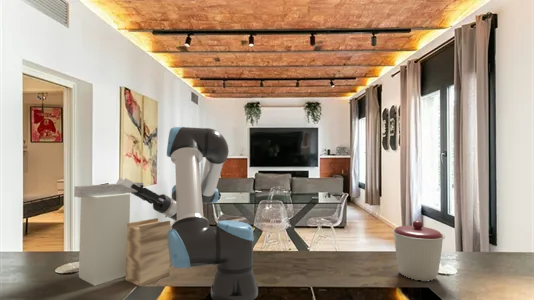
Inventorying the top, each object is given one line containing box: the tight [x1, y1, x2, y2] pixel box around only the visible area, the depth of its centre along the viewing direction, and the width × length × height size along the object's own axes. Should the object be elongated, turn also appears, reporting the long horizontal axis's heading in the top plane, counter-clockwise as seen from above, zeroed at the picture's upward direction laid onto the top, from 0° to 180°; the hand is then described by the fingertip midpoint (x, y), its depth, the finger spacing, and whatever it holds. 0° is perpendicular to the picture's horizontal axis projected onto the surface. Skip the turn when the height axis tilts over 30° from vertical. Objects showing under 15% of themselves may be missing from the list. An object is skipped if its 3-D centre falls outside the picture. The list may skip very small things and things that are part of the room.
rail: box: [73, 181, 144, 198], centre depth 115 cm, size 4×24×4 cm, turn 144°
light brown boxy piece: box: [125, 217, 172, 287], centre depth 112 cm, size 9×12×20 cm
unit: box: [78, 193, 131, 287], centre depth 114 cm, size 12×12×30 cm
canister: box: [391, 220, 446, 282], centre depth 118 cm, size 18×18×21 cm
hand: (121, 181), depth 118 cm, fingers closed on rail, 3 cm apart
